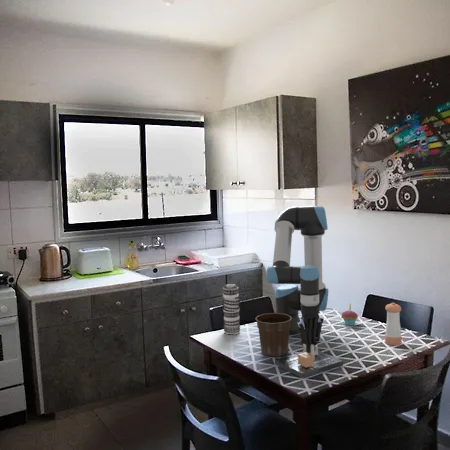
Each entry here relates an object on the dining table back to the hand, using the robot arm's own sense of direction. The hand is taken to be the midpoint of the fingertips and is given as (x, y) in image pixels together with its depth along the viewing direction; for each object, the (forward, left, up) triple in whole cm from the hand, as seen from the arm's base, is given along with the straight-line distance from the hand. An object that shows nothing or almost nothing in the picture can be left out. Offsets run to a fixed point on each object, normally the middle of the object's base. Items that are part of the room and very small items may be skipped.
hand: (311, 359), depth 200 cm
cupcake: (-33, +55, -4) cm, 64 cm away
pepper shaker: (-1, +51, -4) cm, 51 cm away
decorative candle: (-59, -2, -4) cm, 59 cm away
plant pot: (-24, -1, -4) cm, 24 cm away
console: (-4, +2, -4) cm, 6 cm away
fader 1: (-8, +7, -1) cm, 10 cm away
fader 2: (0, -3, -1) cm, 3 cm away
